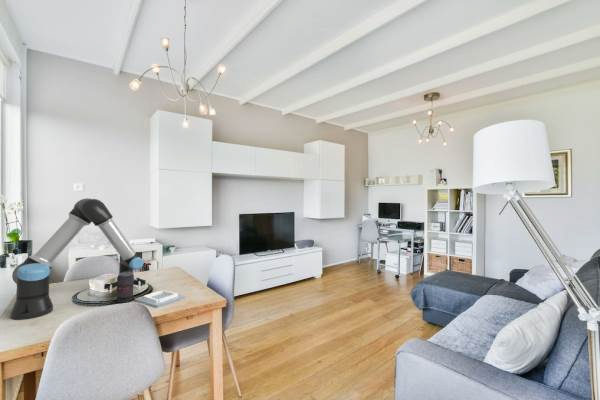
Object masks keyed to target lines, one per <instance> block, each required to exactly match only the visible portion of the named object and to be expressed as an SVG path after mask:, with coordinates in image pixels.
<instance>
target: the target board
mask: <svg viewBox="0 0 600 400" xmlns="http://www.w3.org/2000/svg"><path fill="white" fill-rule="evenodd" d="M184 299H185V300H186V296H185V295H184V294H183V295H182V294H179V293H177V292H173V291H169V290H165V289H162V290H158V291H154V292H152V293H147V294H144V295H141V296H139V297H136V298H134V300H135V301H134V302H137V303H140V304H143V305H146V306H149V307H153V308H156V309H158V308H161V307H162V308H163V307H164V306H167V305H170V304H172V303H176V302H178V301H181V300H184Z"/></svg>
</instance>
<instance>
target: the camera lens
mask: <svg viewBox="0 0 600 400" xmlns="http://www.w3.org/2000/svg"><path fill="white" fill-rule="evenodd" d="M134 279H135V274H134V272H133V273H122V274H119V273H118V274H117V278H116V281H117V287H116V301H117V302H118V301H120V303H119V304H126V303H127V302H126V301H130V300H131V299H132V300H133V296H134V284H133V283H134ZM132 300H131V301H132ZM131 301H130V302H131Z"/></svg>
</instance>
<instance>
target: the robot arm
mask: <svg viewBox="0 0 600 400" xmlns="http://www.w3.org/2000/svg"><path fill="white" fill-rule="evenodd" d="M91 223H92V224H93V225H94V226H95V227H98V228H99V230H101V232H102V233H103V235H104V236H105V238H106V239H107V240H108V241H109V243H110V245H112V247H113V248H114V249H115V250H116V253H118V254H119V268H118V269H119V273H118V275H119V274H122V273H133V274H134V271H137V270H141V269H142V268H143V266H144V263H145V262H144V260H143V258H141V257H140V256H138V254H137V252H136V250H135V249H134V248H133V247H132V245H131V244H130V243H129V241H128V239H126V237H125V235H124V234H123V232H122V231H121V230H120V228H119V227H118V225H117V224H116V222H115V220H113V214H111V212H110V211H109V209H108V208H107V206H106V205H105V203H104V202H103V201H101V200H100V199H96V198H82V199H80V200H77V202H75V204H74V205H73V208H72V209H71V210H70V212H68V218H67V219H66V221H64V222H63V224H61V225H60V227H59V228H58V229H57V230H56V231H55V232H54V233H53V234H52V236H51V237H50V238H49V239H47V241H46V242H45V243H44V244H43V245H42V246H41V247H40V248H39V249H38V250H37V252H36V253H35V254H33V255H29V256H28V257H27V258H26V259H25V260H24V261H23V262H21V263H20V264H18V265H17V266H16V267H15V268H14V269H13V271H12V273H11V274H12V275H11V277H12V280H13V282H14V283H15V284H16V298H15V302H14V303H13V307H12V309H11V310H10V319H13V320H28V319H33V318H39V317H42V316H44V315H45V316H46V315H47V314H49V313H52V311H54V304H53V302H52V300H51V299H52V298H51V297H50V277H51V276H50V274H51V269H52V268H53V262H54V261H55V259H57V257H59V255H60V254H61V253H62V252H63V251H64V250H65V248H66V247H67V246H68V245H70V243H71V242H72V240H73V239H74V238H75V237H77V235H78V234H79V233H80V231H81V230H83V229H84V227H85V226H89V225H90V224H91ZM146 282H147V281H146V279H142V278H140V277H136V278H134V283H133V286H138V290H140V289H141V287H143V286H145V285H146ZM114 288H117V282H115V283H111V284H107V283H105V284H104V286H103V289H104V290H107V291H109V294H110V293H112V291H113V289H114Z"/></svg>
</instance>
